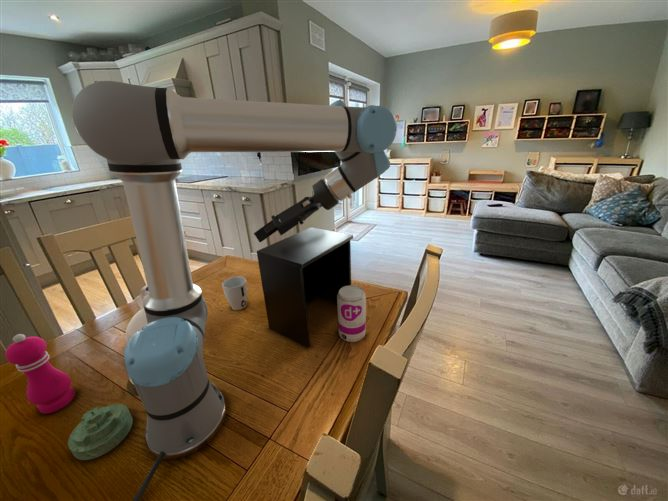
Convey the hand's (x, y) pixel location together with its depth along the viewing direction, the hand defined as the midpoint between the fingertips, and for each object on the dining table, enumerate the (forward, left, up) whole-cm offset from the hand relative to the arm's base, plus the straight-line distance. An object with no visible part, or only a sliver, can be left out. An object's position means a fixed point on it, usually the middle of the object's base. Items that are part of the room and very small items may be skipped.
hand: (268, 234), depth 75 cm
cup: (+9, +21, -32) cm, 39 cm away
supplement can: (+1, -22, -32) cm, 39 cm away
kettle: (-10, +35, -32) cm, 48 cm away
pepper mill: (-35, +43, -32) cm, 64 cm away
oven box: (+7, -9, -32) cm, 33 cm away
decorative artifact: (-39, +24, -32) cm, 56 cm away
